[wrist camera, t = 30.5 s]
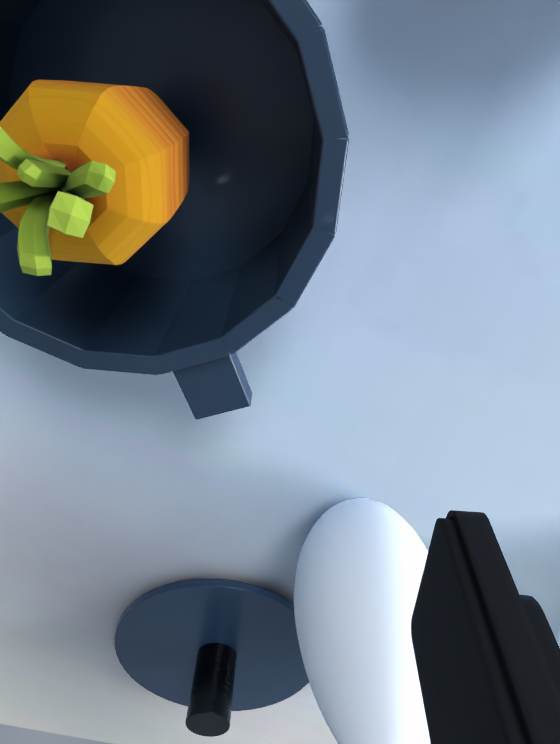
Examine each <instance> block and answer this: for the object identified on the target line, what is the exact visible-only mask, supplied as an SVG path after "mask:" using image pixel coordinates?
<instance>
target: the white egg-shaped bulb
mask: <svg viewBox="0 0 560 744" xmlns="http://www.w3.org/2000/svg"><path fill="white" fill-rule="evenodd" d="M427 555H428V551H427V549H426V547H425V546H424V544H423V542H422V541H421V539H420V538H419V536H418V535H417V534H416V532H415V531H414V530H413V528H412V527H411V526H410V525H409V524H408V523H407V522H406V521H405V520H404V519H403V518H402V517H401V516H400V515H399V514H398V513H396V512H395V511H394V510H393V509H391V508H390V507H388V506H387V505H385V504H383V503H381V502H379V501H376V500H372V499H367V498H354V499H349V500H345V501H342V502H340V503H338V504H336V505H334V506H332V507H331V508H329V509H328V510H327V511H326V512H325V513H323V514H322V516H321V517H320V518H319V519H318V520H317V522H316V523H315V524H314V526H313V527H312V529H311V530H310V532H309V534H308V536H307V538H306V540H305V542H304V544H303V547H302V549H301V552H300V555H299V559H298V564H297V569H296V576H295V584H294V615H295V623H296V630H297V636H298V641H299V646H300V651H301V655H302V659H303V663H304V667H305V670H306V674H307V677H308V680H309V682H310V685H311V688H312V691H313V693H314V696H315V698H316V701H317V703H318V706H319V708H320V710H321V712H322V715H323V717H324V719H325V721H326V723H327V725H328V727H329V728H330V730H331V732H332V734H333V735H334V737H335V739H336V740H337V742H338V744H431V742H430V737H429V731H428V726H427V720H426V715H425V709H424V704H423V699H422V693H421V688H420V682H419V677H418V671H417V666H416V660H415V655H414V649H413V644H412V637H411V619H412V615H413V611H414V607H415V603H416V599H417V595H418V591H419V587H420V583H421V579H422V575H423V571H424V567H425V563H426V559H427Z"/></svg>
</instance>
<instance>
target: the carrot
mask: <svg viewBox="0 0 560 744" xmlns="http://www.w3.org/2000/svg"><path fill="white" fill-rule="evenodd" d="M189 180H190V175H189V131H188V130H187V129H186V128H185V127H184V125H183V124H182V123H181V122H180V121H179V120H178V118H177V117H176V116H175V115H174V114H173V113H172V111H171V110H170V109H169V108H168V107H167V106H166V104H165V103H164V102H163V101H162V100H161V99H160V98H159V97H158V96H157V95H156V94H155V93H154V92H153V91H151V90H150V89H148V88H144V87H136V86H126V85H114V84H103V83H91V82H79V81H68V80H36V81H33V82H32V83H31V84H30V85H29V87H28V88H27V89H26V90H25V92H24V93H23V94H22V95H21V96H20V98H19V99H18V100H17V101H16V103H15V104H14V105H13V106H12V108H11V109H10V110H9V111H8V113H7V114H6V115H5V116H4V118H3V119H2V120H1V121H0V213H2V214H3V215H5V216H6V217H7V218H8V219H9V220H10V221H11V222H12V223H13V224H14V225H15V226H16V227H18V228H19V231H18V243H17V252H18V257H19V263H20V267H21V269H22V272H23V273H26V274H30V275H35V276H44V275H51V272H52V260H62V261H74V262H86V263H98V264H111V265H120V264H123V263H124V262H126V261H127V260H128V259H129V258H130V257H131V256H132V255H133V254H134V253H135V252H136V251H137V250H138V249H140V248H141V247H142V246H143V245H144V244H145V243H146V242H147V241H148V240H149V239H150V238H151V237H152V236H153V235H154V234H155V233H156V232H157V231H158V230H159V229H161V228H162V227H163V226H164V225H165V224H166V223H167V222H168V221H169V220H170V219H171V217H172V216H173V215H174V213H175V212H176V210H177V209H178V208H179V206H180V205H181V203H182V202H183V200H184V198H185V196H186V194H187V193H188V191H189ZM51 259H52V260H51Z"/></svg>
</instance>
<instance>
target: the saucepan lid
mask: <svg viewBox="0 0 560 744" xmlns="http://www.w3.org/2000/svg"><path fill="white" fill-rule="evenodd" d="M115 649H116V654H117V656H118V659H119V661H120V663H121V665H122V666H123V668H124V669H125V671H126V672H127V673H128V674H129V675H130V676H131V677H132V678H133V679H134V680H135V681H136V682H137V683H139V684H140V685H141V686H143V687H144V688H146V689H147V690H149V691H151V692H152V693H154V694H156V695H158V696H160V697H162V698H164V699H167V700H169V701H172V702H175V703H178V704H181V705H185V706H188V711H187V717H186V726H187V728H188V729H189V730H190V731H192V732H193V733H195V734H198V735H202V736H218V735H222V734H224V733H225V732H227V731H228V729H229V727H230V718H231V711H241V710H250V709H256V708H261V707H265V706H269V705H272V704H275V703H277V702H280V701H283V700H285V699H287V698H289V697H291V696H292V695H294V694H295V693H297V692H298V691H300V690H301V689H302V688H303V687H304V686H305V685H307V683H308V682H309V680H308V677H307V674H306V670H305V667H304V663H303V659H302V655H301V651H300V646H299V641H298V636H297V630H296V623H295V615H294V605H293V604H292V603H290V602H289V601H287V600H286V599H284V598H282V597H280V596H278V595H277V594H275V593H272V592H270V591H268V590H265V589H263V588H260V587H256V586H253V585H250V584H246V583H241V582H236V581H229V580H220V579H198V580H188V581H181V582H176V583H172V584H168V585H165V586H162V587H159V588H156V589H154V590H152V591H150V592H148V593H146V594H144V595H143V596H141V597H140V598H138V599H137V600H136V601H134V602H133V603H132V604H131V605H130V606H129V607H128V608H127V609H126V611H125V612H124V614H123V615H122V617H121V619H120V621H119V623H118V626H117V629H116V634H115Z"/></svg>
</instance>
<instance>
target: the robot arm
mask: <svg viewBox="0 0 560 744" xmlns="http://www.w3.org/2000/svg"><path fill="white" fill-rule="evenodd" d="M411 637H412V644H413V649H414V655H415V660H416V666H417V671H418V677H419V682H420V688H421V693H422V699H423V704H424V709H425V715H426V720H427V726H428V731H429V737H430V742H431V744H560V648H559V646H558V644H557V641H556V639H555V637H554V635H553V632H552V630H551V628H550V626H549V623H548V621H547V619H546V616H545V614H544V612H543V610H542V608H541V607H540V605H539V603H538V602H537V601H536V600H535V599H534V598H533V597H531V596H528V595H519V593H518V590H517V588H516V585H515V583H514V581H513V578H512V576H511V573H510V571H509V568H508V566H507V563H506V561H505V559H504V556H503V554H502V551H501V549H500V546H499V544H498V541H497V539H496V536H495V534H494V532H493V529H492V527H491V524H490V522H489V519H488V518H487V516H486V515H485V514H484V513H481V512H466V511H449V512H448V514H447V517H446V519H444V518H438V519H437V521H436V523H435V527H434V531H433V535H432V539H431V543H430V547H429V551H428V555H427V559H426V563H425V567H424V571H423V575H422V579H421V583H420V587H419V591H418V595H417V599H416V603H415V607H414V611H413V615H412V619H411Z"/></svg>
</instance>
